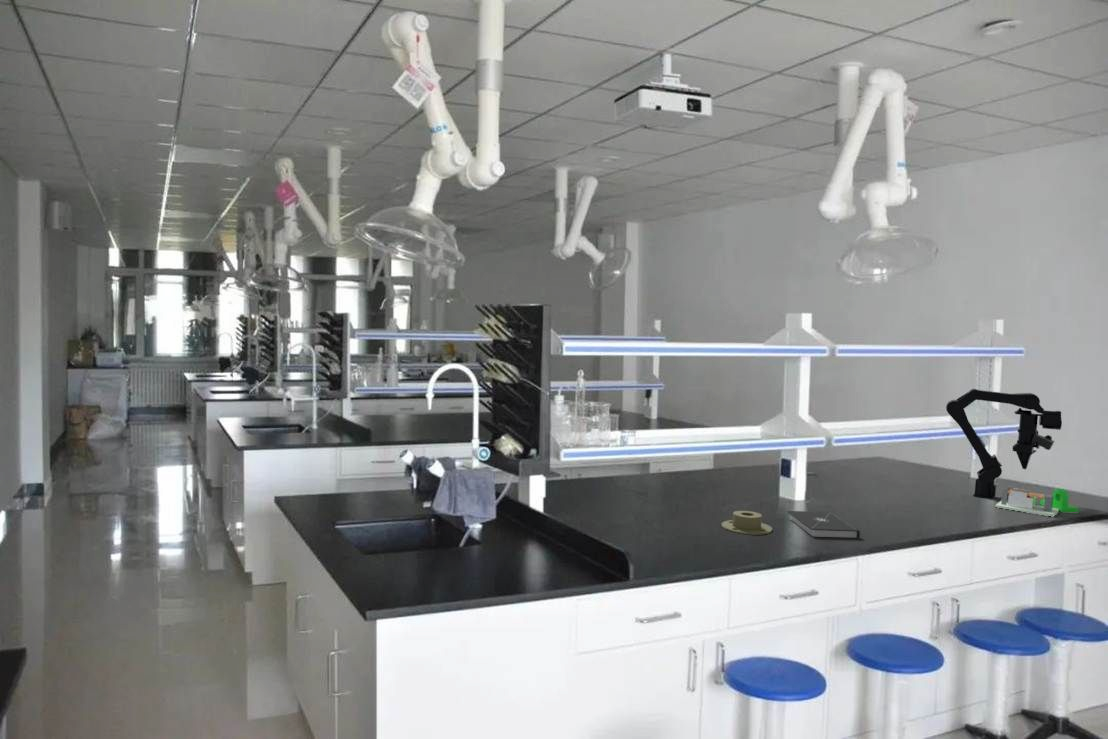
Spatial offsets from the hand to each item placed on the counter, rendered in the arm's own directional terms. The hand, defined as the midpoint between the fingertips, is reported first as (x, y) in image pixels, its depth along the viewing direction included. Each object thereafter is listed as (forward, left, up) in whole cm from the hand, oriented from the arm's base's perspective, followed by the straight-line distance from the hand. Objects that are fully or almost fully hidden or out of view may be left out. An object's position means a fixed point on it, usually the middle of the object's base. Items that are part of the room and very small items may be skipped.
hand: (1024, 468), depth 304 cm
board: (+4, -16, -12) cm, 20 cm away
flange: (-56, -115, -13) cm, 129 cm away
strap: (+3, -15, -7) cm, 17 cm away
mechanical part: (+12, -4, -12) cm, 18 cm away
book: (-40, -97, -13) cm, 106 cm away
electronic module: (+4, -16, -11) cm, 19 cm away
